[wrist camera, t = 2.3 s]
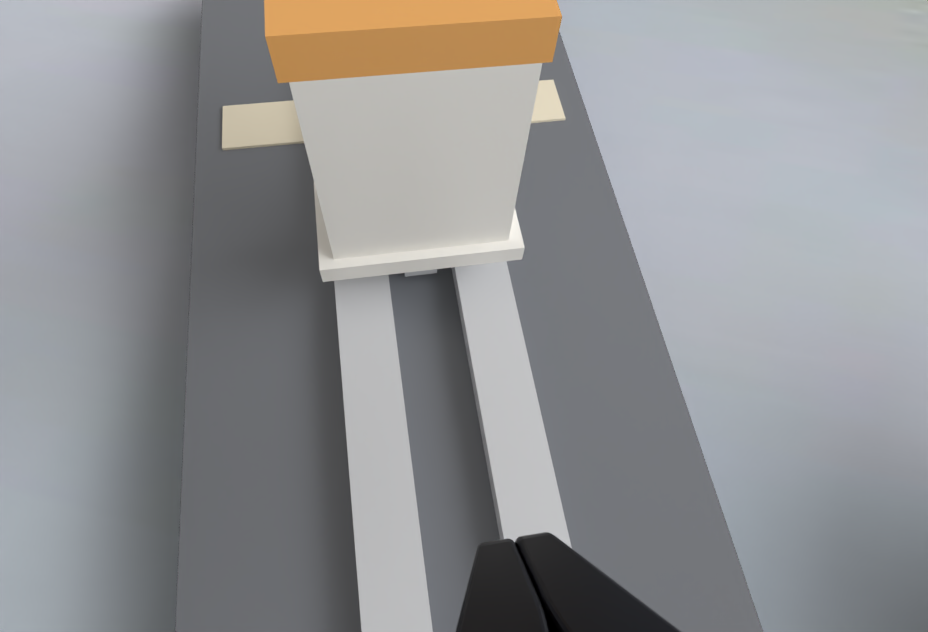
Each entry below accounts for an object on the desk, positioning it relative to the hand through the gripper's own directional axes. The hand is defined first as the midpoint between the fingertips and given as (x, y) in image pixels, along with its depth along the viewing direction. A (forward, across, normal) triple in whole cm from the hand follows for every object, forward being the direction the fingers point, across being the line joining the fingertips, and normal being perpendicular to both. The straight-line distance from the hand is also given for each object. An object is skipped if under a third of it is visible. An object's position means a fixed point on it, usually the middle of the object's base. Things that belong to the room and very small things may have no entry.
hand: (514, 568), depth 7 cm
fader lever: (+13, 0, -1) cm, 14 cm away
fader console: (+16, 0, 0) cm, 16 cm away
